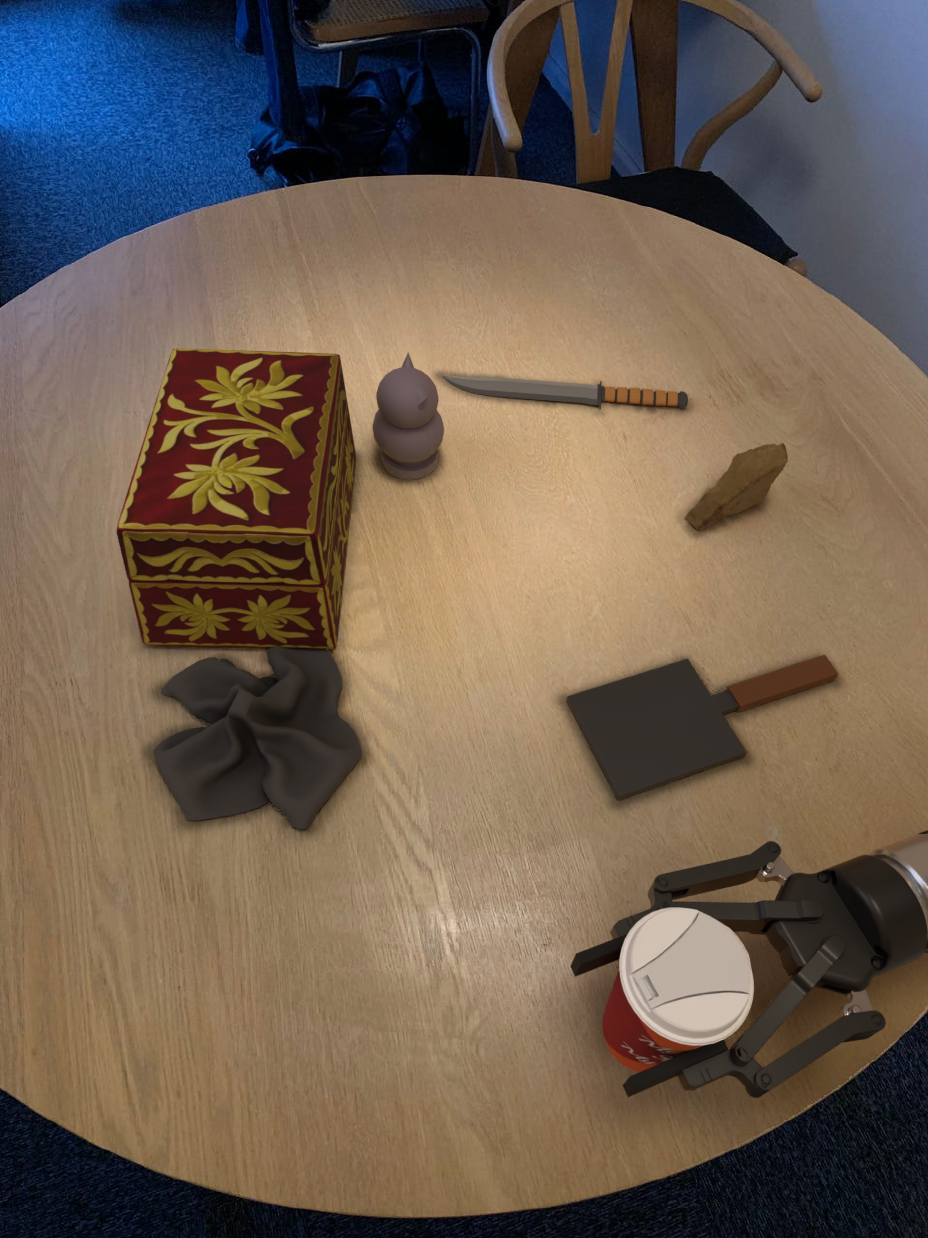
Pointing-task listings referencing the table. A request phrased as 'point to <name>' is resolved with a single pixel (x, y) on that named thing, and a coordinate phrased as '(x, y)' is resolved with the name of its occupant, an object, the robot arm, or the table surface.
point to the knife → (566, 391)
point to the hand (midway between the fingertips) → (601, 1024)
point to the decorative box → (242, 502)
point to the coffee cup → (676, 988)
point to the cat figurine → (408, 422)
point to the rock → (740, 484)
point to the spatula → (676, 720)
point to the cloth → (259, 737)
